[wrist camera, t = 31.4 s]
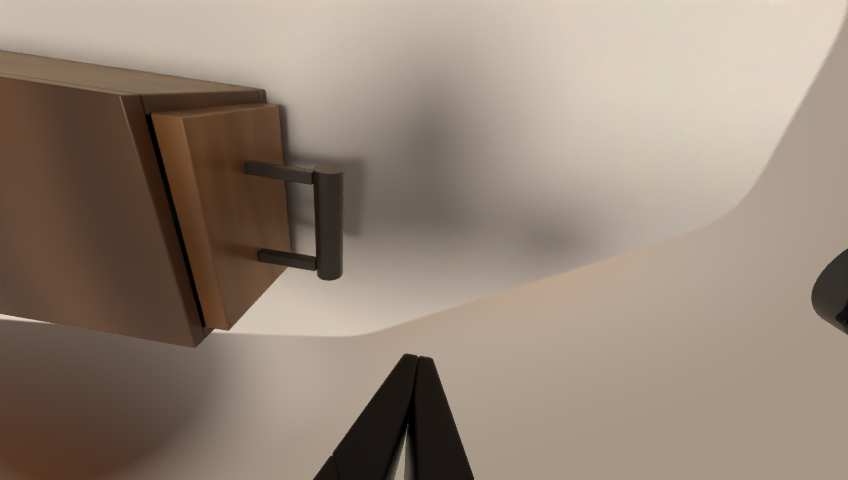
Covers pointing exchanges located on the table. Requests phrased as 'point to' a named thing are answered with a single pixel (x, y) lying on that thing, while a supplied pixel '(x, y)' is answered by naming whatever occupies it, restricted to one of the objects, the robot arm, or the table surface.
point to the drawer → (241, 204)
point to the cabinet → (94, 198)
